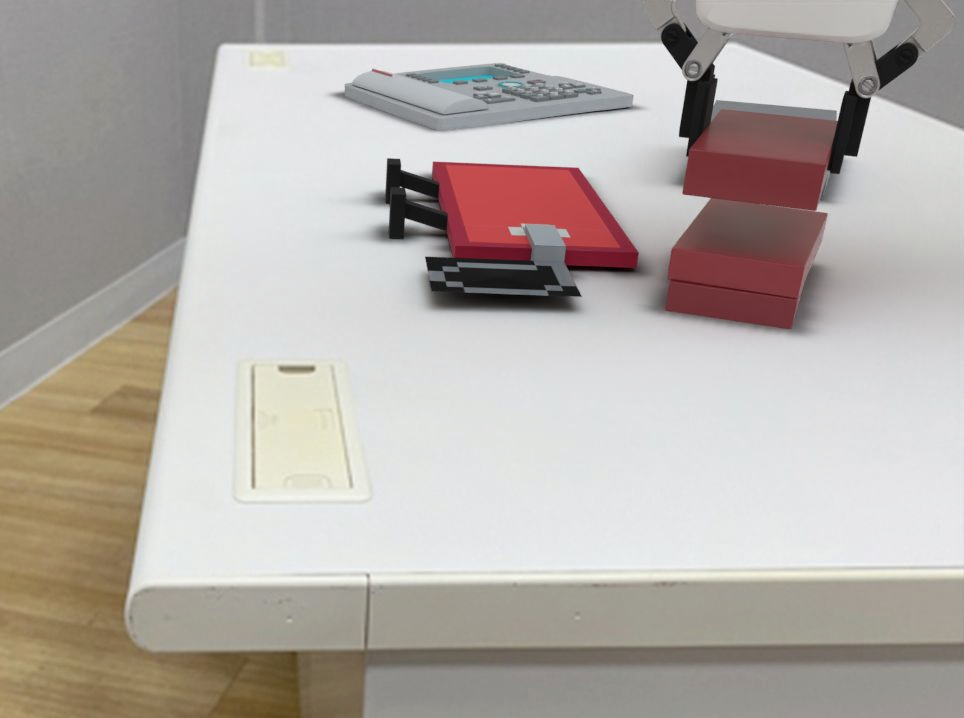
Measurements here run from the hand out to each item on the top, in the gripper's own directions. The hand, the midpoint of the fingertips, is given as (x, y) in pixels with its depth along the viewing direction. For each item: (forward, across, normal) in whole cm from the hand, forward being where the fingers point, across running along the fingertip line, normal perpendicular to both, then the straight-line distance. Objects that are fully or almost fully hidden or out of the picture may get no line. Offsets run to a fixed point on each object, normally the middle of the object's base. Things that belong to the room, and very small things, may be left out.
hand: (764, 158), depth 68 cm
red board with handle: (+8, +16, -4) cm, 18 cm away
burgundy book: (+1, 0, 0) cm, 1 cm away
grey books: (+8, +2, -30) cm, 31 cm away
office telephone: (+8, +31, -47) cm, 57 cm away
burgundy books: (+8, 0, 0) cm, 8 cm away
